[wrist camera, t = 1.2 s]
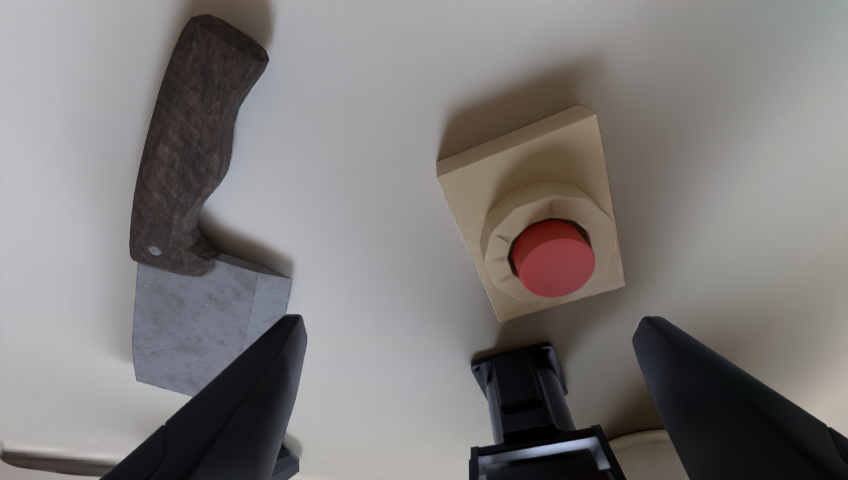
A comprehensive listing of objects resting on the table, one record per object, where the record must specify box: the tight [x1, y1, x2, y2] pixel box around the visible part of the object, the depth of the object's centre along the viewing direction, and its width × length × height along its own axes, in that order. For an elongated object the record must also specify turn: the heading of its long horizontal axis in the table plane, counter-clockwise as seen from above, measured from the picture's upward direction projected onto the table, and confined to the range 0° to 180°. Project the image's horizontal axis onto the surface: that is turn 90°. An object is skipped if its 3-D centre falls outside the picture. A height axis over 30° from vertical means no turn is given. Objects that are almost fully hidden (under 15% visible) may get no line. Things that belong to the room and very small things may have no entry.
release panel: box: [436, 104, 626, 322], centre depth 20 cm, size 11×8×4 cm
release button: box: [512, 220, 595, 298], centre depth 18 cm, size 4×4×2 cm
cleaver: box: [129, 14, 292, 397], centre depth 23 cm, size 29×10×2 cm, turn 156°
